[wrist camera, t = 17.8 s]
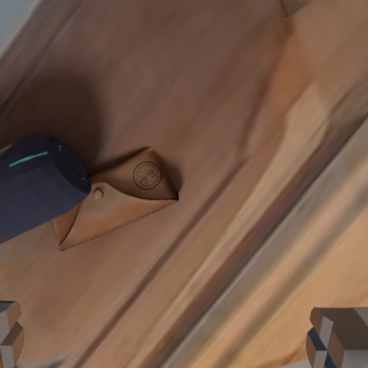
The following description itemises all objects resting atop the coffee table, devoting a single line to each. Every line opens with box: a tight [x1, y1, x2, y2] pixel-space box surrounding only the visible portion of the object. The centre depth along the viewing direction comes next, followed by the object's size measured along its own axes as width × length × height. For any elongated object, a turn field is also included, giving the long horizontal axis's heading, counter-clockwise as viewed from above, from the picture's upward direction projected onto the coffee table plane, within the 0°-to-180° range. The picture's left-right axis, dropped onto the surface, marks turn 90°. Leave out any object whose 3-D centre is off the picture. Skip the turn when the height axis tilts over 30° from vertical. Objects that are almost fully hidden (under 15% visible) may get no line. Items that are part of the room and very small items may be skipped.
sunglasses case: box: [51, 147, 179, 251], centre depth 43 cm, size 18×7×7 cm
